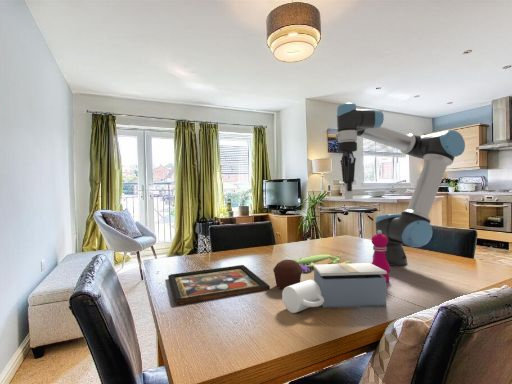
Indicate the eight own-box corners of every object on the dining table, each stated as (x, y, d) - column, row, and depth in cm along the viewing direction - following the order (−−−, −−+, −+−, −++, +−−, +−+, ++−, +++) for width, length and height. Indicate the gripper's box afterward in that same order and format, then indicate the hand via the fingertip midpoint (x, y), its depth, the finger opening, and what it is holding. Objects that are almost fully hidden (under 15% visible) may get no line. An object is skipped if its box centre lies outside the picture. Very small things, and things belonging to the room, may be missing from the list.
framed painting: (178, 312, 94) (177, 303, 93) (159, 281, 125) (159, 275, 125) (278, 289, 111) (277, 282, 111) (240, 268, 142) (240, 262, 142)
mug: (282, 308, 93) (281, 283, 93) (304, 300, 99) (303, 276, 98) (309, 322, 83) (308, 294, 83) (332, 312, 89) (331, 286, 89)
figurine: (353, 274, 125) (353, 261, 125) (291, 273, 128) (290, 261, 128) (345, 262, 143) (345, 251, 143) (291, 262, 146) (290, 251, 146)
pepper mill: (389, 277, 118) (388, 228, 117) (391, 283, 111) (390, 231, 110) (370, 276, 120) (369, 228, 119) (371, 282, 113) (370, 231, 112)
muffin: (295, 294, 104) (294, 266, 104) (268, 289, 110) (267, 263, 110) (307, 283, 114) (306, 258, 114) (282, 279, 120) (281, 255, 120)
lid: (369, 265, 105) (369, 262, 105) (387, 274, 91) (386, 270, 91) (313, 266, 106) (312, 264, 106) (321, 275, 91) (321, 272, 91)
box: (369, 289, 105) (369, 265, 105) (386, 306, 91) (385, 278, 91) (314, 291, 106) (313, 267, 106) (322, 307, 92) (321, 279, 92)
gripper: (334, 144, 126) (335, 198, 127) (342, 140, 113) (344, 200, 114) (351, 143, 126) (352, 197, 127) (361, 139, 113) (363, 199, 114)
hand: (348, 198), depth 120 cm, fingers closed
